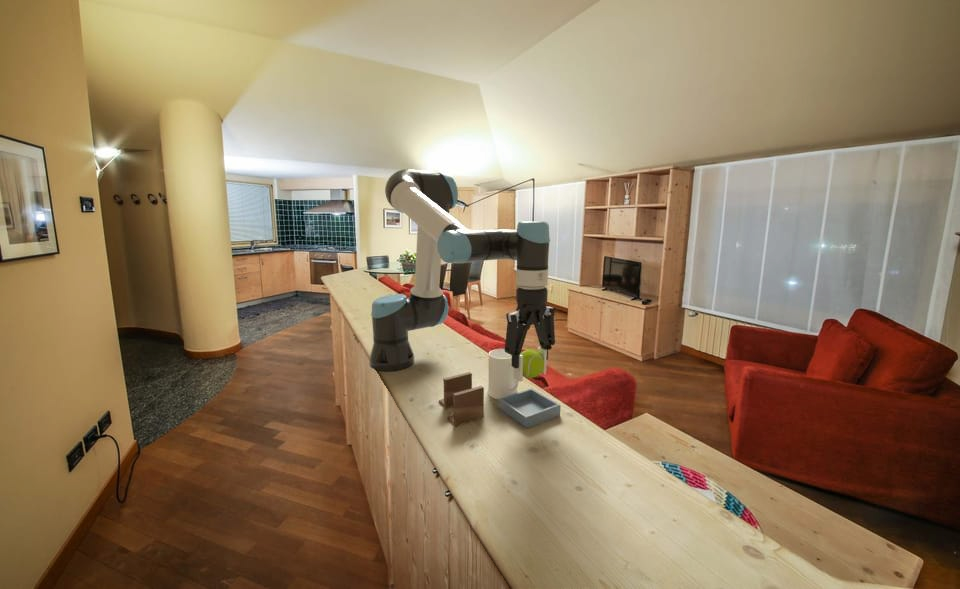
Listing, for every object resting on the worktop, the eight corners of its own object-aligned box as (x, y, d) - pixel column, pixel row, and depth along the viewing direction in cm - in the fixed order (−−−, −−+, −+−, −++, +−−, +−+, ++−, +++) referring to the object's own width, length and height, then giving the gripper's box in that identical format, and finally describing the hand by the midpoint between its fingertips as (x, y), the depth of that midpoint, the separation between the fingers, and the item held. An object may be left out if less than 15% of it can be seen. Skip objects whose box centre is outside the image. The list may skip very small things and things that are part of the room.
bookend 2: (447, 418, 94) (447, 388, 92) (475, 409, 98) (474, 381, 96) (456, 426, 90) (455, 395, 89) (483, 416, 94) (483, 387, 93)
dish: (498, 409, 98) (498, 398, 98) (531, 398, 104) (531, 388, 104) (525, 428, 89) (525, 417, 88) (559, 415, 95) (560, 404, 94)
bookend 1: (439, 402, 102) (438, 374, 101) (464, 394, 106) (464, 368, 105) (446, 408, 99) (445, 380, 97) (472, 400, 103) (471, 373, 101)
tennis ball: (549, 378, 94) (550, 352, 92) (527, 385, 90) (528, 357, 89) (531, 369, 99) (531, 344, 98) (510, 375, 96) (510, 349, 94)
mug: (528, 401, 102) (529, 360, 100) (500, 407, 99) (501, 365, 97) (508, 384, 113) (509, 346, 111) (482, 389, 110) (482, 350, 107)
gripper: (508, 293, 82) (507, 391, 86) (572, 284, 92) (569, 372, 97) (489, 288, 88) (489, 379, 92) (551, 280, 98) (548, 363, 103)
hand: (529, 375), depth 95 cm, fingers closed on tennis ball, 7 cm apart
